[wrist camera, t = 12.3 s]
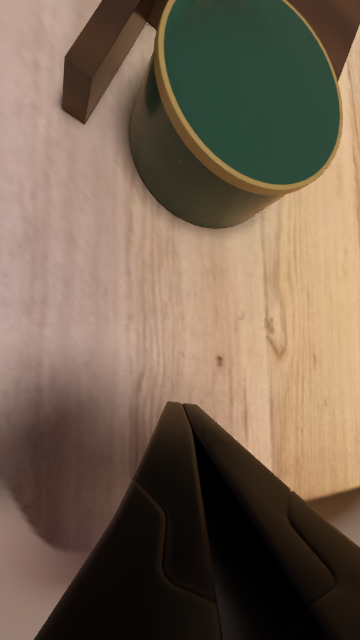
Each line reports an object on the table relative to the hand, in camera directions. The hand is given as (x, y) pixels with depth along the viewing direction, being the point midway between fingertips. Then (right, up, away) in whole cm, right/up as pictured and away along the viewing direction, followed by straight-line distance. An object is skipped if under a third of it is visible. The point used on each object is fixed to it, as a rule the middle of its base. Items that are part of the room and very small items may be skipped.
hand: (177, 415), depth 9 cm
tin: (+2, +15, +16) cm, 22 cm away
